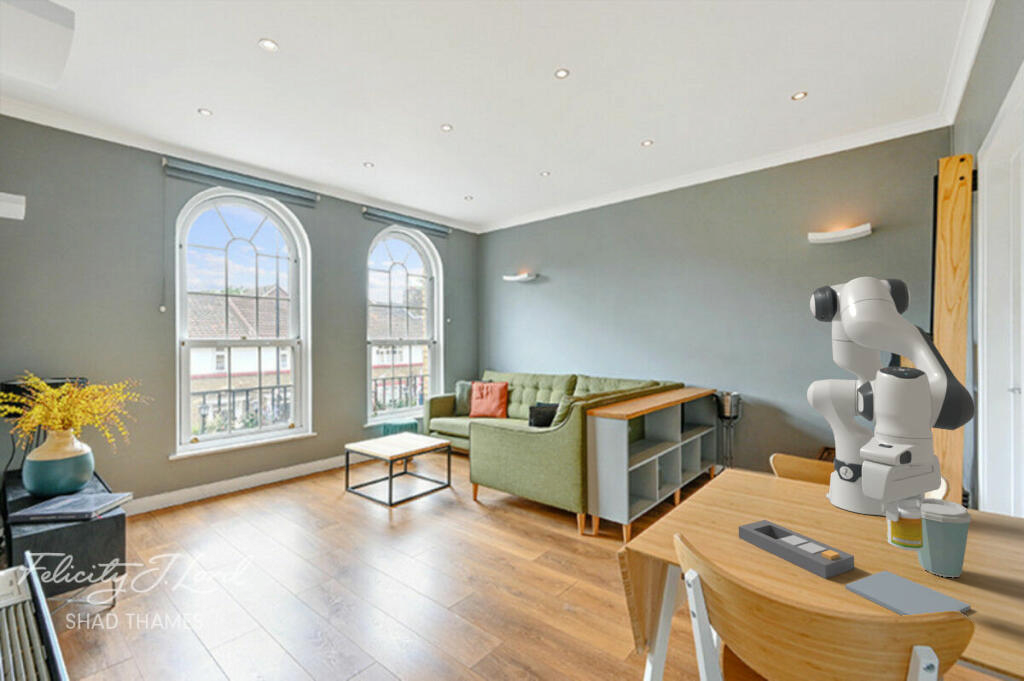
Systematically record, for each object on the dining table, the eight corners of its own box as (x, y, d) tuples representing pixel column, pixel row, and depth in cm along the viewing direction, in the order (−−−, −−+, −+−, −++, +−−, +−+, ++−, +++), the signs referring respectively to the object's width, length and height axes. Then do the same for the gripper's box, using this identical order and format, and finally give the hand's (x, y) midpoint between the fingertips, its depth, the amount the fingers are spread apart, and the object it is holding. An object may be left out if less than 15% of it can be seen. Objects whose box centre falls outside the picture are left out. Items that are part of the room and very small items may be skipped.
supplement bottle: (930, 552, 85) (928, 502, 85) (898, 550, 86) (896, 501, 86) (911, 540, 90) (909, 493, 91) (881, 538, 92) (879, 492, 92)
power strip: (765, 530, 120) (765, 516, 120) (854, 569, 100) (854, 552, 100) (738, 537, 116) (738, 523, 116) (825, 579, 96) (825, 561, 96)
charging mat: (885, 573, 98) (885, 570, 98) (970, 609, 85) (970, 605, 85) (845, 588, 92) (845, 584, 92) (929, 628, 79) (929, 624, 79)
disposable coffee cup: (958, 588, 91) (957, 516, 91) (896, 564, 101) (895, 499, 101) (983, 577, 96) (982, 508, 96) (921, 555, 105) (920, 492, 105)
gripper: (913, 439, 95) (914, 503, 95) (854, 450, 87) (855, 519, 87) (951, 446, 89) (952, 513, 89) (891, 458, 82) (892, 532, 82)
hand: (903, 517), depth 88 cm, fingers closed on supplement bottle, 5 cm apart
